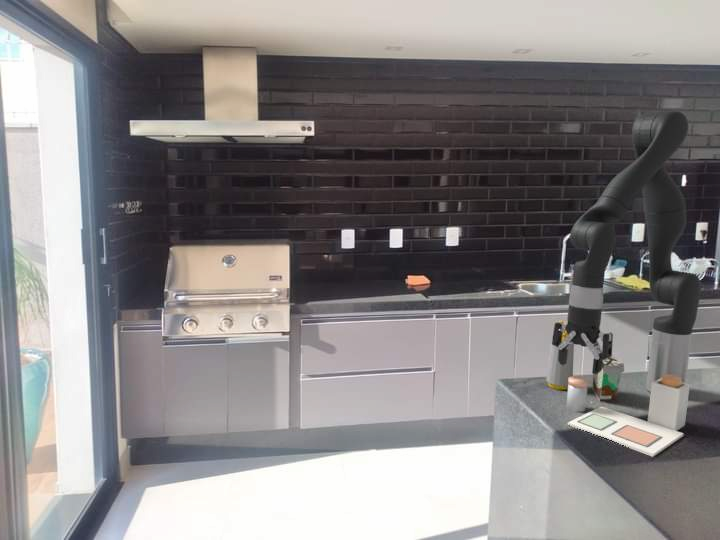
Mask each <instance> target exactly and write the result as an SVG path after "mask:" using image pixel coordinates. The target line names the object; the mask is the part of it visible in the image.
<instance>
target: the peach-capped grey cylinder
mask: <svg viewBox="0 0 720 540" xmlns="http://www.w3.org/2000/svg"><path fill="white" fill-rule="evenodd" d="M588 387H589V380H588V379H587V378H585V377H582V376H575V375H573V376H572V377H569V378H568V389H567V393H566V394H567V396H566V406H565V407H566V409H567V410H569V411H571V412H574V413H575V412H576V413H577V412H578V413H583V412H585V411H586V405H587V403H586V402H587V394H588Z"/></svg>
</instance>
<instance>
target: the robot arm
mask: <svg viewBox="0 0 720 540" xmlns="http://www.w3.org/2000/svg"><path fill="white" fill-rule="evenodd" d="M631 129H632V130H631V139H632V145H633V150H634V156H635V159H636V160H635V161H633V162H632V163H631V164H630V165H628V166H627V167H625V168H624V169H623V170H622V171H620V172H619V173H617V175H616V176H614V177H613V178H612V179H611V180H610V182H609V183H608V184H607V186H606V187H605V189H604V190H603V192H602V194H601V195H600V196H599V198H598V200H597V201H596V203H594V204H593V205H592V206H590V208H588V210H587V211H586V212H584V213H583V214H582V215H581V216H580V217H579V218H578V219H577V220H576V222H575V223H574V225H573V226H572V228H571V230H570V233H569V234H570V235H569V240H570V243H571V245H572V246H573V247H574V248H575V249H577V250H582V251H588V253H587V256H586V258H585V260H584V259H583V260H579V261H576V262H575V263H574V265H573V271H572V280H571V288H570V291H569V292H570V293H569V297H568V309H567V310H568V311H567V323H566V324H564V323H565V322H564V321H563V322H564V323H563V322H559V321H558V322H554V325H553V326H554V327H553V333H552V339H551V342H552V345H553V346H556V347H558V348H559V356H558V361H559V362H560V364H561V365H565V364H566V363H567V354H568V350H567V347H568V346H569V345H570V344H572V343H573V344H574V345H578V346H582V347H584V348H585V347H587V348H588V350H589V352H591V354H592V356H593V362H592V370H591V373H592V374H598V373H599V372H601V370H602V363H603V359H607V358H609V357H611V356H613V339H614V338H613V337H614V335H613V332H608V333H606V332H601V329H600V327H601V321H602V313H603V312H602V311H603V304H604V284H605V283H604V282H605V275H606V274H605V272H606V269H607V267H608V265H609V262H610V259H611V257H612V254H613V252H614V250H615V247H616V243H617V235H616V231H615V228H614V227H613V226H612V225H611V223H614V222H619V221H621V220H622V219H623V218H624V217H625V215H627V213H628V211H629V209H630V208H631V206H632V205H633V203H634V202H635V200H636V198H637V197H638V196H639V194H640V192H641V191H642V192H641V193H642V197H643V199H642V200H643V211H644V219H645V221H644V222H645V226H646V233H647V235H646V236H647V244H648V256H649V266H648V267H649V268H648V269H649V271H648V273H649V275H648V276H649V279H648V280H649V291H650V295H651V297H652V299H653V300H654V301H655V302H657V303H659V304H663V305H664V304H665V305H669V306H673V307H672V308H673V309H672V313H670V314H669V315H661V316H657V317H655V318H654V319H653V322H652V331H651V333H652V334H651V339H650V340H651V341H650V351H649V360H648V367H647V368H648V369H647V374H646V375H647V377H646V385H645V386H646V387H645V389H646V390H647V392H650V393H651V387H652V382H654V381H656V380H658V379H660V378H662V375H665V374H668V375H674V376H678V377H680V378H681V382H682V383H686V384H687V376H688V375H687V374H688V367H689V359H690V352H691V351H690V350H691V343H692V335H693V329H694V325H695V323H696V321H697V315H698V309H699V304H700V297H701V294H702V283H701V279H700V278H699V276H698V275H696V274H695V273H691V272H685V271H680V270H679V271H678V270H673V267H672V253H673V252H672V251H673V249H674V248H675V246H676V243H677V242H678V241H679V239H680V238H681V236H682V235H683V233H684V231H685V229H686V226H687V213H686V212H687V211H686V203H685V198H684V195H683V193H682V191H681V190H680V188H679V186H678V185H677V184H676V182H675V181H674V179H673V178H672V177H671V176H670V174H669V173H668V171H667V169H666V167H665V164H666V162H668V160H669V159H670V158H671V157H672V156H673V155H674V154H675V152H677V150H678V149H679V148H680V147H681V146H682V145H683V143H684V141H685V139H686V137H687V136H688V132H689V122H688V118H687V117H686V115H685V114H684V113H683V112H681V111H679V110H665V111H655V112H645V113H642V114H640V115H638V116H637V117H636V118H635V120H634V121H633V124H632V128H631ZM565 329H566V331H565ZM563 331H565V332H566V333H567V334H568V336H567V337H566V338H565V339H564V340H563V342H561V341H562V335H563ZM599 338H600V341H601V342H602V346H601V345H600V343H599V341H598V339H599ZM601 347H602V348H601ZM594 358H595V359H594Z"/></svg>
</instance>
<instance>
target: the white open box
mask: <svg viewBox="0 0 720 540" xmlns="http://www.w3.org/2000/svg"><path fill="white" fill-rule="evenodd" d="M661 379H662V378H660V379H658V380H656V381H654V382H652V387H651V392H650V398H649V405H648V413H647V414H648V415H647V422H650V423H653V424H657V425H660V426H663V427H666V428H669V429H672V430H675V431H678V430H680V429H681V428H683V427H685V426H686V419H687V411H688V410H687V409H688V405H689V404H688V403H689V393H690V386H691V384H689V383H687V382H686V383H682V382H681V387H680V388H678V389H677V388H674V387H670V386H666V385H663V384H661Z"/></svg>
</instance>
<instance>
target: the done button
mask: <svg viewBox="0 0 720 540" xmlns="http://www.w3.org/2000/svg"><path fill="white" fill-rule="evenodd" d="M661 384H663V385H666V386H670V387H674V388H677V389H678V388H680V387H681V378H680V377H678V376H674V375H668V374H665V375H662V379H661Z"/></svg>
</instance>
